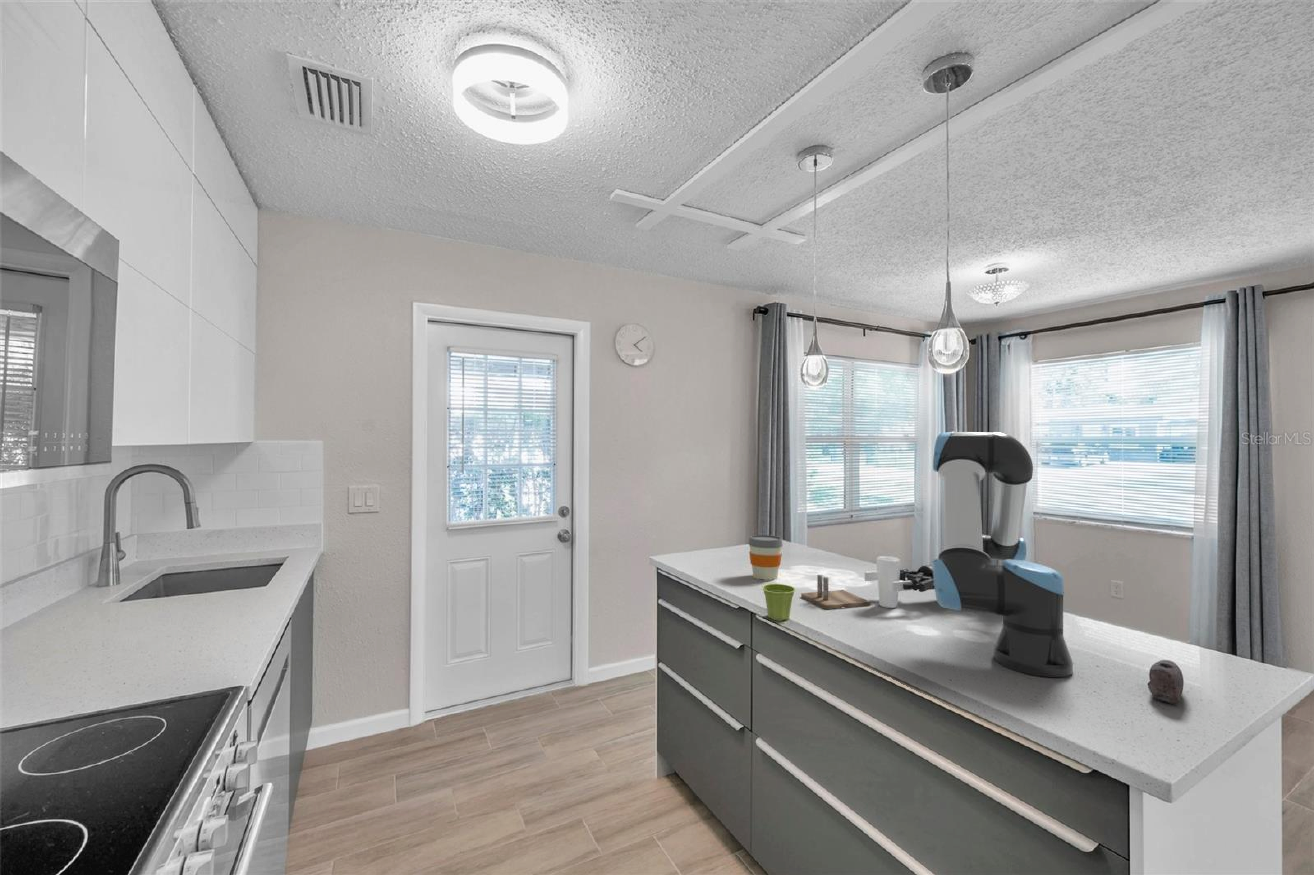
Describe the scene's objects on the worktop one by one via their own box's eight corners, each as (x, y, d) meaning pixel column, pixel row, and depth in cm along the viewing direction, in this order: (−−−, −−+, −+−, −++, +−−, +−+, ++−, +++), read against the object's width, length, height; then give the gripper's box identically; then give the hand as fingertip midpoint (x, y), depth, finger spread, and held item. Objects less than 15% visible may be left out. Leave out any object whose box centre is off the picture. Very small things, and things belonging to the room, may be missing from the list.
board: (842, 593, 186) (842, 569, 186) (870, 605, 172) (870, 579, 173) (801, 596, 181) (801, 572, 181) (826, 609, 168) (826, 582, 168)
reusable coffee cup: (744, 573, 212) (744, 535, 212) (776, 573, 214) (776, 534, 214) (753, 582, 200) (754, 540, 200) (787, 581, 201) (787, 540, 201)
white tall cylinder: (873, 606, 172) (873, 558, 172) (881, 601, 177) (881, 555, 177) (895, 611, 167) (895, 561, 167) (903, 606, 172) (903, 558, 172)
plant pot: (793, 624, 154) (793, 593, 154) (760, 620, 157) (760, 590, 157) (796, 614, 163) (796, 585, 163) (764, 611, 166) (764, 582, 166)
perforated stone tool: (1154, 680, 120) (1154, 648, 120) (1187, 688, 116) (1188, 656, 116) (1144, 702, 110) (1144, 667, 110) (1180, 712, 106) (1180, 676, 106)
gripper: (965, 599, 165) (907, 604, 159) (907, 579, 189) (853, 583, 182) (965, 574, 165) (907, 579, 159) (907, 557, 189) (854, 561, 182)
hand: (878, 581), depth 171 cm, fingers open, 12 cm apart
